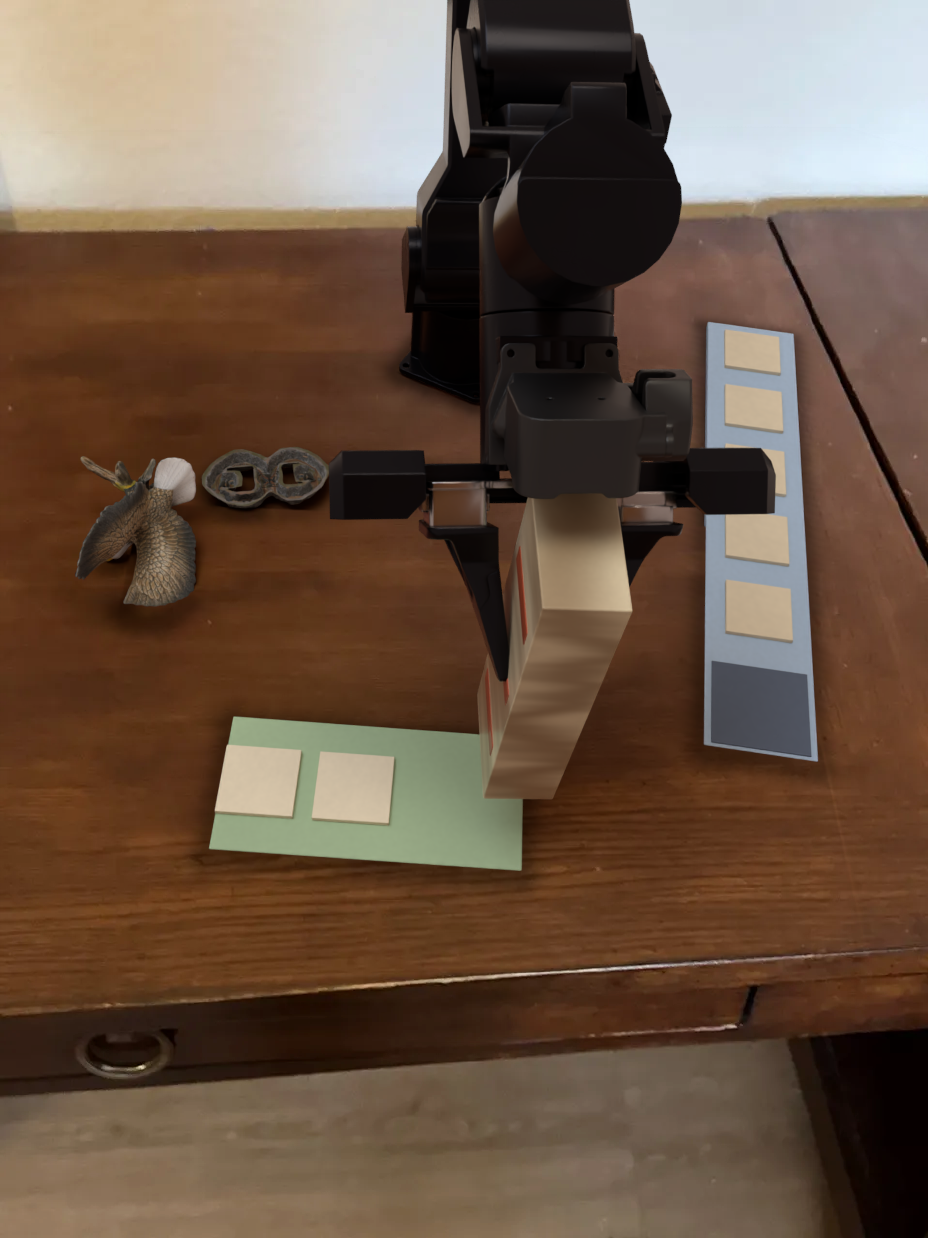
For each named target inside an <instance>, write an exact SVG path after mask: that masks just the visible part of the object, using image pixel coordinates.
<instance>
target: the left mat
mask: <svg viewBox="0 0 928 1238" xmlns="http://www.w3.org/2000/svg"><path fill="white" fill-rule="evenodd" d="M214 806H215V807H214V818H213V819H214V820H213V825H212V830H211V835H210V841H209V847H208V849H209V850H216V851H218V850H219V851H232V852H244V853H245V852H246V853H258V854H259V853H261V854H274V855H288V856H305V857H316V858H317V857H318V858H331V859H346V860H347V859H348V860H362V861H373V862H374V861H375V862H388V863H389V862H391V863H402V864H403V863H405V864H416V865H418V864H419V865H434V866H446V867H460V868H462V867H463V868H476V869H489V870H490V869H491V870H505V871H519V872H520V871H522V870H523V815H524V814H523V810H524V807H523V806H524V799H484V798H483V787H482V769H481V751H480V733H478V734H477V733H465V732H464V733H463V732H451V731H438V730H437V731H436V730H422V729H410V728H395V727H383V726H382V727H381V726H371V725H370V726H369V725H357V724H355V725H353V724H343V723H342V724H340V723H328V722H314V721H301V720H287V719H275V718H273V719H272V718H259V717H246V716H233V717H232V722H231V728H230V733H229V738H228V743H227V744H226V748H225V753H224V758H223V764H222V769H221V774H220V779H219V785H218V791H217V796H216V801H215V805H214Z"/></svg>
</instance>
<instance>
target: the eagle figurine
mask: <svg viewBox="0 0 928 1238" xmlns="http://www.w3.org/2000/svg"><path fill="white" fill-rule="evenodd" d="M79 460H80V461H81V463H82V464H83V465H84V466H85V468H86V469H87V470H88V471H90V472H92V473H93V474H94V475H96V476H98V477H100V478H101V479H103V480H104V481H108V482H110V483H111V484H112V485H113V486H114V488H117V489H118V490H119V491H120V492H122V493H123V492H124V494H125V495H124V496H123V498H121V499H120V500H119V501H115V502H114V503H113V504H112V505H111V504H110V505H107V506H105V507H104V509H103V510H101V511H100V513H99V516H98V517H97V518H96V520H95V523H93V524H92V526H91V528H90V530H89V532H88V533H87V535H86V537H85V538H84V539H83V541H82V546H81V548H80V551H79V555H78V556H79V558H78V560H77V561H76V562H77V563H76V566H77V568H76V571H75V574H74V575H75V578H77V579H78V580H83V581H84V580H85V579H86V578H87V577H88V576H89V575H90V574H91V573H92V572H93V571H95V569H97V568H98V567H99V566H100V565H101V564H103V563H106V562H110V561H112V560H113V559H114V560H117V559H120V558H121V557H122V556H123V555H124V554H125V552H126V551H127V550H128V549H129V547H130V546H132V545H133V544H134V545H135V548H136V560H135V566H134V572H133V577H132V580H131V583H130V585H129V587H128V589H127V592H126V595H125V597H124V599H123V604H124V605H130V604H131V605H135V606H144V607H160V606H166V605H168V604H174V603H176V602H178V601H179V600H180V601H181V600H183V599H184V598H187V597H189V596H190V594H191V593H193V592H194V591H195V584H196V582H197V577H196V575H195V574H196V569H197V565H196V562H195V561H196V554H197V553H196V549H195V548H197V539H196V535H195V533H194V532H193V527H192V526H190V524H189V522H188V521H186V520H184V518H183V517H182V516H181V515H178V511H177V510H175V509H174V508H173V507H176V506H179V505H182V504H185V503H188V502H191V501H192V500H194V498H195V496H196V492H197V486H196V485H197V483H196V472H195V471H194V470H193V466H192V464H191V463H190V462H188V461H186V459H183V458H179V457H167V458H166V457H165V458H164V459H161V460H160V461H159V462H158V463H157V460H156V459H154V458H151V459H150V462H149V464H148V465H147V467H146V469H145V470H144V472H143V473H142V475H140V476H139V477H138V480H135V479H132V477H131V474H130V472H129V471H128V469H127V467H126V465H125V463H124V461H122V460H118V461H116V464H115V466H114V471H112V470H109V469H107V468H105V467H102V466H101V465H98V464H97V463H95V461H94V460H92V459H90V458H88V457H87V456H84V455H82V456H80V459H79ZM156 464H157V465H156ZM155 468H156V469H155ZM154 471H155V473H153V472H154ZM153 474H154V479H153V482H151V484H150V481H151V479H152V477H153Z"/></svg>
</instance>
